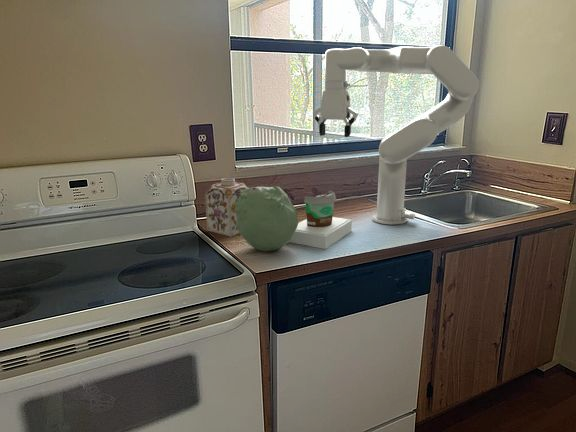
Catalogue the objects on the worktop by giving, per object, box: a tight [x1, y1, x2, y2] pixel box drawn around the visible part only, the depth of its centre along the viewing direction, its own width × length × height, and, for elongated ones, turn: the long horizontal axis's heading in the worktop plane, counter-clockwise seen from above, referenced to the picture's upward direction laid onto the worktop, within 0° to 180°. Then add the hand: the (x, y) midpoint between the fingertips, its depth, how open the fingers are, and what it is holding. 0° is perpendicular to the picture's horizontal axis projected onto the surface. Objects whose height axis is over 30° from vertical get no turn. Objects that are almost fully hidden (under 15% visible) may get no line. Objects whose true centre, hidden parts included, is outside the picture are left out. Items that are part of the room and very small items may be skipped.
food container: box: [303, 190, 337, 227], centre depth 146 cm, size 12×6×10 cm, turn 134°
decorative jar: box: [204, 177, 249, 238], centre depth 154 cm, size 12×12×18 cm
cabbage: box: [234, 185, 299, 252], centre depth 135 cm, size 16×19×20 cm
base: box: [287, 216, 353, 250], centre depth 149 cm, size 14×20×4 cm
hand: (334, 135), depth 163 cm, fingers open, 9 cm apart
